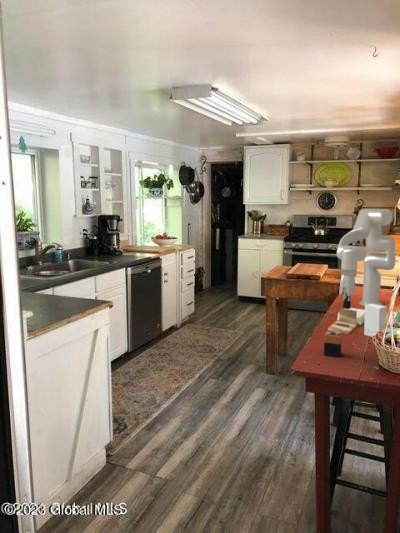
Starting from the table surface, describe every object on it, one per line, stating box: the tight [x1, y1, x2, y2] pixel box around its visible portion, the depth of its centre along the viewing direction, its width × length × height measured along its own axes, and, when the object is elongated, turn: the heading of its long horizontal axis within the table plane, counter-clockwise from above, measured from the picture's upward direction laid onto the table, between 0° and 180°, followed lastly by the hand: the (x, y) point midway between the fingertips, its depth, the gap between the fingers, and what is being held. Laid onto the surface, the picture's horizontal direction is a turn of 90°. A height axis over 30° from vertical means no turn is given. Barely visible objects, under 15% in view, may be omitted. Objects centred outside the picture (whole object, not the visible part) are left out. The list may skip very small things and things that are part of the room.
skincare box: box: [363, 304, 388, 338], centre depth 203 cm, size 8×6×15 cm
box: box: [336, 307, 365, 326], centre depth 231 cm, size 18×12×4 cm, turn 144°
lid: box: [327, 308, 359, 335], centre depth 216 cm, size 17×10×8 cm, turn 145°
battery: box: [323, 330, 343, 358], centre depth 180 cm, size 4×7×10 cm, turn 71°
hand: (346, 308), depth 218 cm, fingers closed
